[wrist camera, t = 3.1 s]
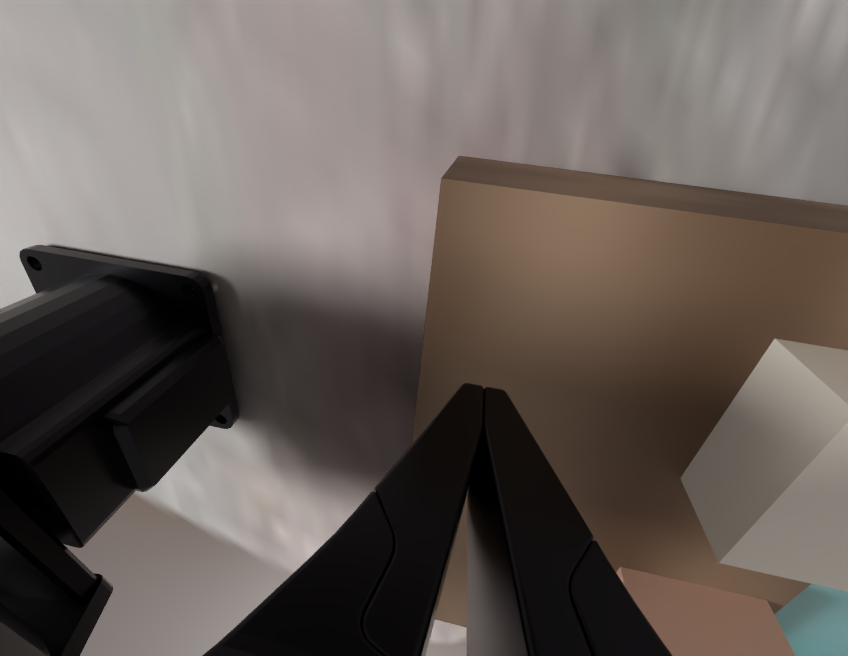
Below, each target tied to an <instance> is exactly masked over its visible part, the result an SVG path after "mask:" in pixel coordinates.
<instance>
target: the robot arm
mask: <svg viewBox="0 0 848 656" xmlns="http://www.w3.org/2000/svg"><path fill="white" fill-rule="evenodd" d="M20 259H21V262H22V264H23V266H24V268H25V270H26V273H27V275H28V277H29V279H30V281H31V283H32V285H33V287H34V289H35V291H36V294H35V295H32V296H30V297H28V298H25V299H23V300H21V301H18V302H16V303H13V304H11V305H9V306H6V307H4V308H2V309H0V656H80V654H81V652H82V650H83V648H84V646H85V644H86V642H87V640H88V638H89V636H90V634H91V632H92V631H93V629H94V627H95V625H96V623H97V621H98V619H99V617H100V615H101V613H102V611H103V609H104V607H105V605H106V603H107V601H108V599H109V597H110V595H111V593H112V591H113V586H112V585H111V584H110V583H109V582H108V581H107V580H106V579H105V578H104V577H103V576H102V575H100V574H94V573H92V572H91V571H90V570H89V569H88V568H87V567H86V566H85V565H84V564H83V563H82V562H81V561H80V560H79V559H78V558H77V557H76V556H75V555H74V554H73V553H72V552H71V551H70V550H68V548H66V547H65V546H64V545H63V544H66V545H69V546H73V547H78V548H82V547H83V546H84V545H85V544H86V543H87V542H88V541H89V540H90V539H91V538H92V537H93V536H94V535H95V533H96V532H97V531H98V530H99V529H100V528H101V527H102V526H103V525H104V524H105V523H106V522H107V521H108V520H109V519H110V518H111V517H112V515H113V514H114V513H115V512H116V511H117V510H118V509H119V508H120V507H121V506H122V505H123V504H124V503H125V502H126V501H127V499H128V498H129V497H130V496H131V495H132V494H133V493H134V492H135V491H140V492H145V491H148V490H149V489H151V488H152V487H153V486H155V485H156V484H157V483H158V482H159V481H160V479H161V478H162V477H163V476H164V475H165V474H166V473H167V472H168V471H169V469H170V468H171V467H172V466H173V465H174V464H175V463H176V462H177V461H178V459H179V458H180V457H181V456H182V455H183V454H184V453H185V452H186V451H187V449H188V448H189V447H190V446H191V445H192V444H193V443H194V442H195V441H196V439H197V438H198V437H199V436H200V435H201V434H202V433H203V432H204V431H205V429H206V428H207V427H208V426H214V427H219V428H224V429H228V428H231V427H232V425H233V424H234V423H235V422H236V421H237V419H238V418H239V413H238V408H237V403H236V399H235V394H234V389H233V384H232V380H231V375H230V370H229V365H228V361H227V356H226V351H225V346H224V342H223V337H222V332H221V327H220V323H219V318H218V313H217V308H216V303H215V299H214V294H213V289H212V286H211V284H210V282H209V281H208V279H207V278H206V277H205V276H203V275H202V274H200V273H198V272H195V271H189V270H184V269H178V268H172V267H166V266H160V265H154V264H149V263H143V262H137V261H131V260H125V259H120V258H114V257H108V256H102V255H96V254H90V253H85V252H79V251H73V250H67V249H61V248H56V247H50V246H44V245H35V246H32V247H28V248H25V249H23V250H22V251H20ZM191 285H192V286H193V287H194V288H195V289H196V291H197V292H196V291H195V290H194V289H192V287H191ZM467 492H468V495H467ZM466 496H467V656H673V655H672V654H671V653H670V651H669V650H668V648H667V647H666V646H665V644H664V643H663V641H662V640H661V639H660V637H659V636H658V634H657V633H656V631H655V630H654V628H653V627H652V626H651V624H650V623H649V621H648V620H647V618H646V617H645V616H644V614H643V613H642V611H641V610H640V608H639V607H638V606H637V604H636V603H635V601H634V600H633V598H632V597H631V595H630V593H629V592H628V590H627V589H626V587H625V586H624V584H623V582H622V581H621V579H620V578H619V576H618V575H617V573H616V571H615V570H614V568H613V567H612V565H611V564H610V562H609V560H608V559H607V557H606V555H605V554H604V552H603V550H602V549H601V547H600V545H599V544H598V542H597V541H595V540H594V541H593V539H594V536H593V534H592V533H591V531H590V529H589V528H588V526H587V524H586V523H585V521H584V519H583V518H582V516H581V514H580V513H579V511H578V509H577V508H576V506H575V504H574V503H573V501H572V500H571V498H570V496H569V495H568V493H567V491H566V490H565V488H564V486H563V485H562V483H561V481H560V480H559V478H558V476H557V475H556V473H555V471H554V470H553V468H552V467H551V465H550V463H549V462H548V460H547V458H546V457H545V455H544V453H543V452H542V450H541V448H540V447H539V445H538V443H537V442H536V440H535V438H534V437H533V435H532V434H531V432H530V430H529V429H528V427H527V425H526V424H525V422H524V420H523V419H522V417H521V415H520V414H519V412H518V410H517V409H516V407H515V405H514V404H513V402H512V401H511V399H510V397H509V396H508V394H507V392H506V391H505V390H503V389H498V388H492V387H485V389H484V388H483V386H481V385H476V384H471V383H464V384H462V385H461V387H460V388H459V389H458V390H457V391H456V393H455V394H454V395H453V396H452V397H451V398H450V400H449V401H448V402H447V403H446V404H445V406H444V407H443V408H442V409H441V410H440V411H439V413H438V414H437V415H436V416H435V417H434V419H433V420H432V421H431V422H430V423H429V425H428V426H427V427H426V428H425V429H424V430H423V432H422V433H421V434H420V435H419V436H418V438H417V439H416V440H415V441H414V442H413V444H412V445H411V446H410V447H409V448H408V449H407V451H406V452H405V453H404V454H403V455H402V457H401V458H400V459H399V460H398V461H397V462H396V464H395V465H394V466H393V467H392V468H391V470H390V471H389V472H388V473H387V474H386V476H385V477H384V478H383V479H382V480H381V481H380V483H379V484H378V485H377V486H376V487H375V490H374V491H372V492H371V493H370V494H369V495H368V497H367V498H366V499H365V500H364V501H363V502H362V504H361V505H360V506H359V507H358V508H357V509H356V511H355V512H354V513H353V514H352V515H351V516H350V517H349V518H348V519H347V521H346V522H345V523H344V524H343V525H342V526H341V527H340V528H339V529H338V530H337V532H336V533H335V534H334V535H333V536H332V537H331V538H330V539H329V540H327V541H326V542H325V543H324V544H323V545H322V546H321V547H320V548H319V549H318V550H317V551H316V552H315V553H314V554H313V555H312V556H311V557H310V558H309V559H308V560H307V561H306V562H305V563H304V564H303V565H302V566H301V567H300V568H298V569H297V570H296V571H295V572H294V573H293V574H292V575H291V576H290V577H289V578H288V579H287V580H286V581H284V582H283V583H282V584H281V585H280V586H279V587H278V588H277V589H276V590H275V591H274V592H273V593H272V594H271V595H269V596H268V597H267V598H266V599H265V600H264V601H263V602H262V603H261V604H260V605H259V606H258V607H257V608H255V609H254V610H253V611H252V612H251V613H250V614H249V615H248V616H247V617H246V618H245V619H244V620H243V621H241V622H240V623H239V624H238V625H237V626H236V627H235V628H234V629H233V630H232V631H231V632H229V633H228V634H227V635H226V636H225V637H224V638H223V639H222V640H221V641H219V642H218V643H217V644H216V645H215V646H214V647H213V648H211V649H210V650H209V651H207V652H206V653H205V654H204V655H203V656H425V655H426V651H427V647H428V643H429V639H430V635H431V632H432V628H433V624H434V620H435V616H436V612H437V608H438V605H439V601H440V597H441V593H442V589H443V585H444V581H445V577H446V574H447V570H448V566H449V562H450V558H451V554H452V550H453V547H454V543H455V539H456V535H457V531H458V527H459V523H460V520H461V516H462V512H463V508H464V504H465V500H466Z"/></svg>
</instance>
